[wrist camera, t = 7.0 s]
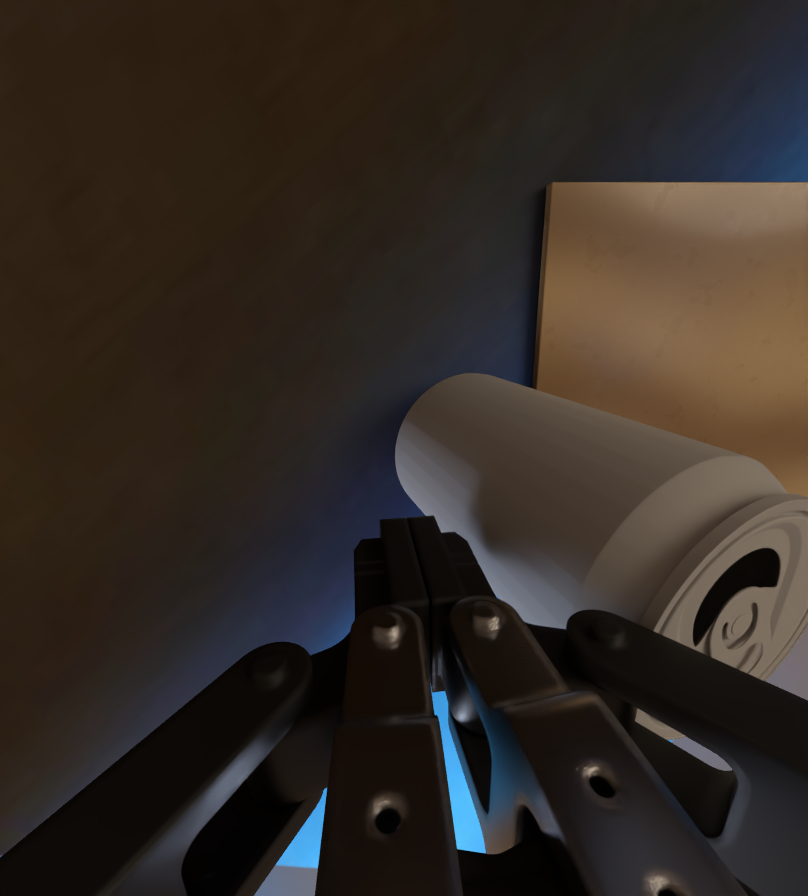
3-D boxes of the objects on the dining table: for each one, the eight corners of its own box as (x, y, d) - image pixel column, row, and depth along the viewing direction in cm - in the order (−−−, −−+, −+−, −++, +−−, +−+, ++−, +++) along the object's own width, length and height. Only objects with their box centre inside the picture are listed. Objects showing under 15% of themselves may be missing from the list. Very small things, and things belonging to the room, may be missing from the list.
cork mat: (546, 185, 16) (551, 181, 16) (899, 184, 18) (913, 181, 18) (516, 603, 23) (519, 609, 22) (776, 574, 25) (785, 579, 24)
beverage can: (497, 344, 18) (883, 417, 7) (528, 466, 21) (836, 644, 10) (365, 410, 16) (600, 611, 6) (417, 530, 19) (638, 808, 9)
